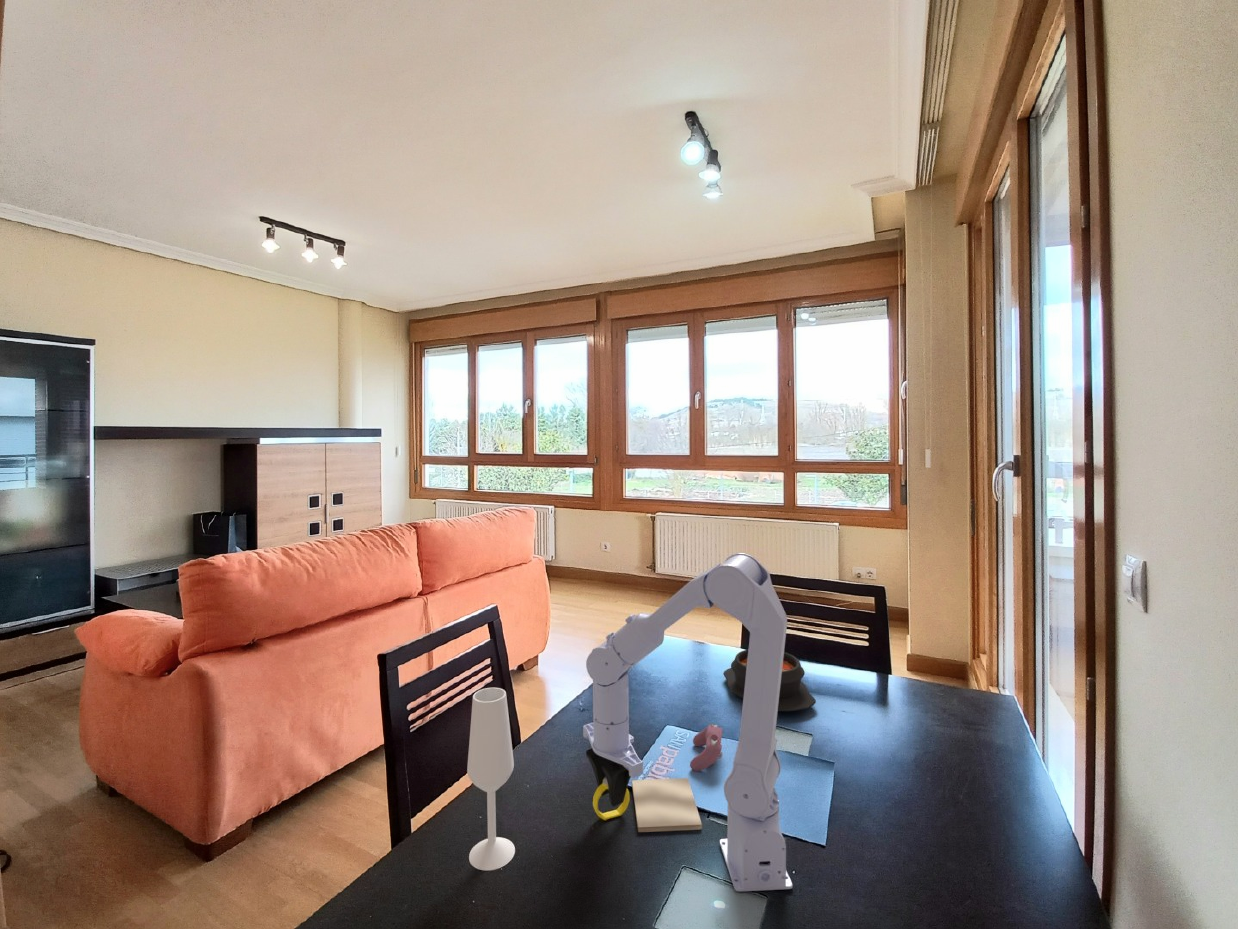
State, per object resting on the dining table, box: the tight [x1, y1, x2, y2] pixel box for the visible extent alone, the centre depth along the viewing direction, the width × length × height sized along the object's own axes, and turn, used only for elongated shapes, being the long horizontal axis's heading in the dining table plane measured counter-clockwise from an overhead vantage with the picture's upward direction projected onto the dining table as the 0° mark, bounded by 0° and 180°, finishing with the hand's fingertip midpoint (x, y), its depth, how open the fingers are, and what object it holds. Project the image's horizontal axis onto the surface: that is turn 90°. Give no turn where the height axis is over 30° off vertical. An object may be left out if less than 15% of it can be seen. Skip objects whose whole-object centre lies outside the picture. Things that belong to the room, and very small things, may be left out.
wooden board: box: [631, 777, 703, 833], centre depth 94 cm, size 12×10×1 cm
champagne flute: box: [466, 687, 516, 871], centre depth 83 cm, size 7×7×24 cm
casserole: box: [723, 649, 817, 712], centre depth 134 cm, size 25×19×8 cm
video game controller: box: [689, 723, 723, 772], centre depth 107 cm, size 10×5×7 cm, turn 169°
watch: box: [592, 777, 630, 821], centre depth 91 cm, size 6×3×6 cm, turn 114°
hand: (611, 798), depth 91 cm, fingers closed on watch, 3 cm apart
